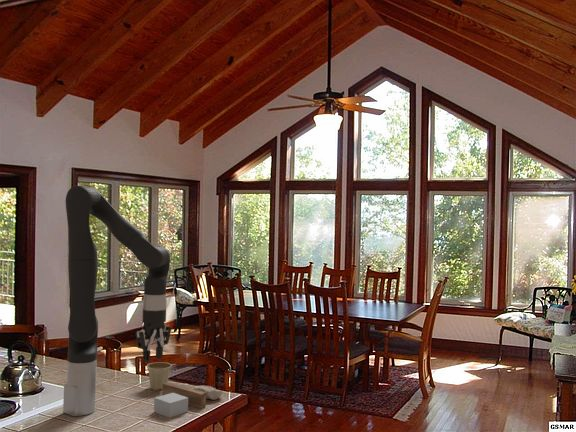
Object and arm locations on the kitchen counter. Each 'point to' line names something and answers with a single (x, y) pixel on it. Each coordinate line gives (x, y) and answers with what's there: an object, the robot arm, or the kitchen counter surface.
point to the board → (186, 394)
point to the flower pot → (158, 374)
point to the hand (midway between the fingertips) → (152, 359)
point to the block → (171, 405)
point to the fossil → (209, 392)
